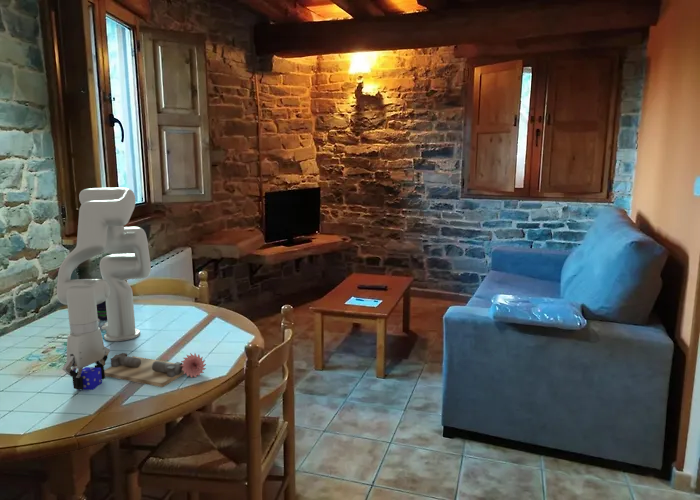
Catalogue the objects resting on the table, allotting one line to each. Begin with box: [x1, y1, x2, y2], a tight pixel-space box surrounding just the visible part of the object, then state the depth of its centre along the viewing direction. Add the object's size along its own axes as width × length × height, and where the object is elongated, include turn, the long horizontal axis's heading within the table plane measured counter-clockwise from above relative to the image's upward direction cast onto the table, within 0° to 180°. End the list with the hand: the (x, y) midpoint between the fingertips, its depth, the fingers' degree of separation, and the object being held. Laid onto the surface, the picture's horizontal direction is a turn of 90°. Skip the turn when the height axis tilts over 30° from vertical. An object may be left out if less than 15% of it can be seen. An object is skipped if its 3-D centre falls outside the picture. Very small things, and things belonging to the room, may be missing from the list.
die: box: [81, 366, 103, 391], centre depth 160 cm, size 5×5×5 cm
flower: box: [181, 352, 207, 378], centre depth 168 cm, size 8×8×6 cm
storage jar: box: [96, 300, 107, 322], centre depth 226 cm, size 10×10×15 cm
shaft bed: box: [104, 352, 185, 388], centre depth 170 cm, size 25×14×4 cm, turn 69°
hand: (89, 383), depth 160 cm, fingers open, 7 cm apart
